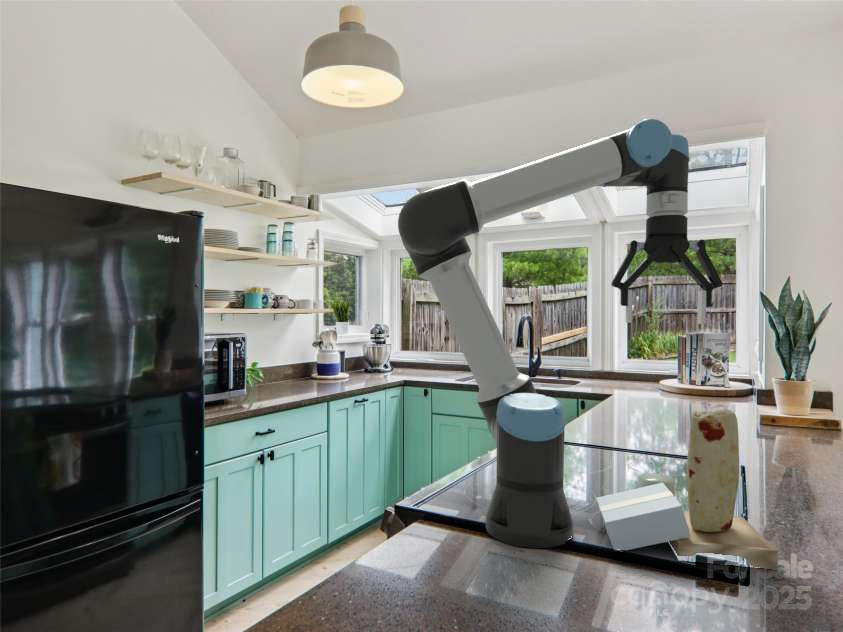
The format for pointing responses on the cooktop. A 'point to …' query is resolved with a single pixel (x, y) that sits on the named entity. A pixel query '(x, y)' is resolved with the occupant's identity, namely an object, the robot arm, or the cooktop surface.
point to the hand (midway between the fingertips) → (664, 323)
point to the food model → (712, 469)
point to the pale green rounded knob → (657, 481)
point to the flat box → (642, 517)
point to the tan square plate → (729, 543)
